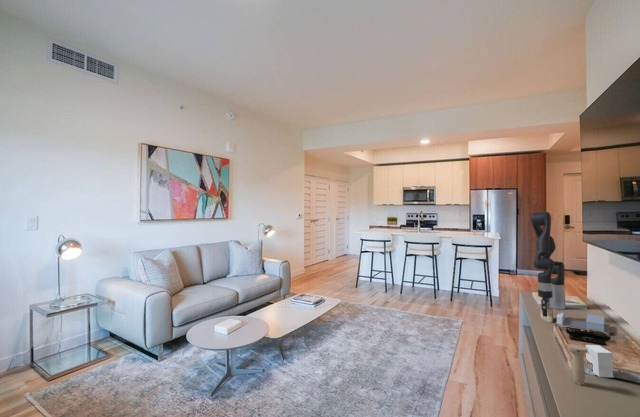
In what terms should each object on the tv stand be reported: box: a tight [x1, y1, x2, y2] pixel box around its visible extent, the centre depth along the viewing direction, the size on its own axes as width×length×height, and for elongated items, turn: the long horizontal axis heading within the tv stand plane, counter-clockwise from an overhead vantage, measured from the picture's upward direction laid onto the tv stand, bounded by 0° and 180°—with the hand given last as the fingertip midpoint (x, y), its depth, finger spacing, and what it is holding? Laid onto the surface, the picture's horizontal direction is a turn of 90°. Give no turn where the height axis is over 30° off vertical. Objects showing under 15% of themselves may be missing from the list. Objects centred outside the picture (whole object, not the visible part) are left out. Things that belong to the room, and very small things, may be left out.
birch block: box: [539, 306, 554, 323], centre depth 194 cm, size 4×6×8 cm, turn 46°
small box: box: [584, 344, 615, 378], centre depth 132 cm, size 8×6×10 cm
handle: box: [566, 343, 588, 386], centre depth 125 cm, size 5×6×15 cm
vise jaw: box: [585, 313, 606, 332], centre depth 178 cm, size 16×8×4 cm, turn 136°
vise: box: [554, 309, 610, 334], centre depth 182 cm, size 16×24×6 cm, turn 46°
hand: (546, 314), depth 194 cm, fingers open, 8 cm apart
